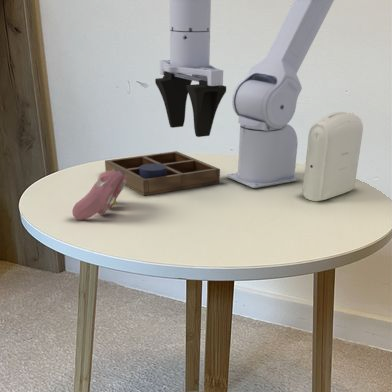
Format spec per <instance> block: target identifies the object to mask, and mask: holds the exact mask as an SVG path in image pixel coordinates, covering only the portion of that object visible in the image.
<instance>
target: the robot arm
mask: <svg viewBox="0 0 392 392" xmlns="http://www.w3.org/2000/svg"><path fill="white" fill-rule="evenodd" d="M334 1H335V0H293V1H292V4H291V6H290V8H289V10H288V12H287V14H286V16H285V18H284V20H283V22H282V24H281V26H280V28H279V30H278V33H277V34H276V36H275V38H274V41H273V42H272V44H271V46H270V48H269V51H268V52H267V54H266V56H265V57H264V58H263V59H262V60H260V61H258V62H257V63H255V64H254V65H253V66H252V67H251V68H250V69H249V71H248V73H247V75H246V76H245V77H244V78H243V80H241V81H240V82H239V83H238V84H237V85H236V86H235V88H234V90H233V93H232V97H231V98H232V99H231V104H232V109H233V111H234V113H235V114H236V116H238V121H237V122H238V124H239V140H238V141H239V144H238V160H237V161H238V162H237V164H238V165H237V172H234V173H228V174H226V177H227V178H228V179H231V180H234V182H235V181H236V182H238V183H240V184H243V185H244V186H247V187H250V188H252V189H258V188H263V187H269V186H275V185H280V184H286V183H287V184H288V183H292V182H297V181H298V177H297V176H296V175H295V174H296V165H297V154H298V153H297V152H298V136H297V135H298V134H297V132H296V130H295V129H294V127H293V126H292V125H291V124H289V123H290V121H291V120H292V119H293V117H294V115H295V112H296V108H297V103H298V102H297V101H298V98H299V96H300V94H301V91H302V89H303V87H302V83H301V81H300V79H299V77H298V72H299V70H300V68H301V66H302V64H303V62H304V60H305V58H306V56H307V55H308V52H309V50H310V48H311V46H312V44H313V42H314V40H315V38H316V37H317V34H318V32H319V31H320V29H321V27H322V24H323V23H324V21H325V18H326V17H327V15H328V13H329V11H330V9H331V7H332V5H333V3H334ZM211 7H212V0H169V59H163V60H159V74H160V75H162V77H158V78H157V77H156V78H155V81H154V82H155V85H156V87H157V88H158V90H159V93H160V95H161V98H162V100H163V103H164V108H165V112H166V115H167V116H166V117H167V121H168V124H169V128H172V129H173V128H181V127H182V128H183V127H184V125H185V122H186V121H185V119H186V110H187V109H186V108H187V100H188V96H189V100H190V103H191V107H192V115H193V130H194V134H195V137H197V138H202V137H203V138H204V137H209V136H210V135H211V132H212V128H213V124H214V120H215V116H216V113H217V111H218V108H219V105H220V103H221V101H222V99H223V97H224V96H225V94H226V93H227V86H226V85H224V69H219V68H217V67H215V66H214V65H213V66H212V64H210V61H211V60H210V54H211V12H212V11H211V9H212V8H211ZM193 81H194V82H196V84H192V82H193ZM197 82H198V84H197Z"/></svg>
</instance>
